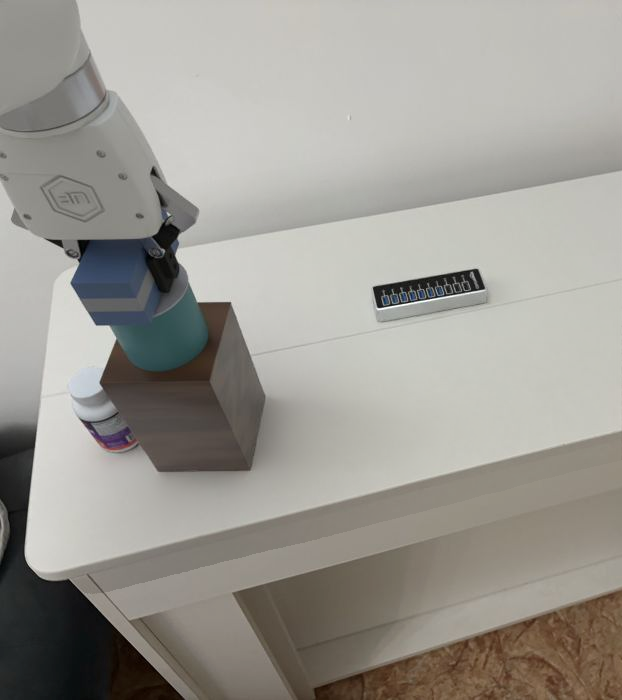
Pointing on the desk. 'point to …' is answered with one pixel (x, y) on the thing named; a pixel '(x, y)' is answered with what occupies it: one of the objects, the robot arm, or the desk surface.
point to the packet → (117, 282)
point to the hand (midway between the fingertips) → (138, 280)
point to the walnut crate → (193, 401)
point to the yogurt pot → (167, 331)
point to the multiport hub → (429, 294)
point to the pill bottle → (99, 411)
